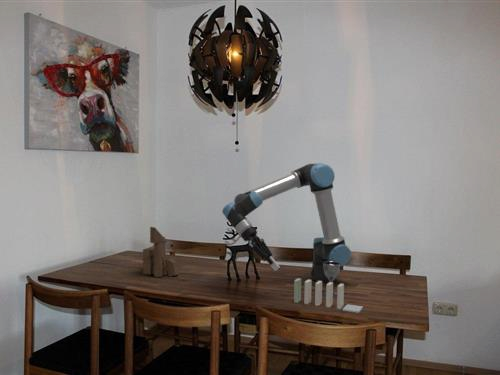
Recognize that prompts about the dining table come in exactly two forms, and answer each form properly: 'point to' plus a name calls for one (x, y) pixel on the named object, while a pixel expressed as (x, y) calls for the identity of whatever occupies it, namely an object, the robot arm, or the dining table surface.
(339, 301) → the domino
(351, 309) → the coaster
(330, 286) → the domino
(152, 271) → the wooden blocks
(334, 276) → the wine glass
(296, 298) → the domino
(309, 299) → the domino
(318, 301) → the domino
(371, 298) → the dining table surface
